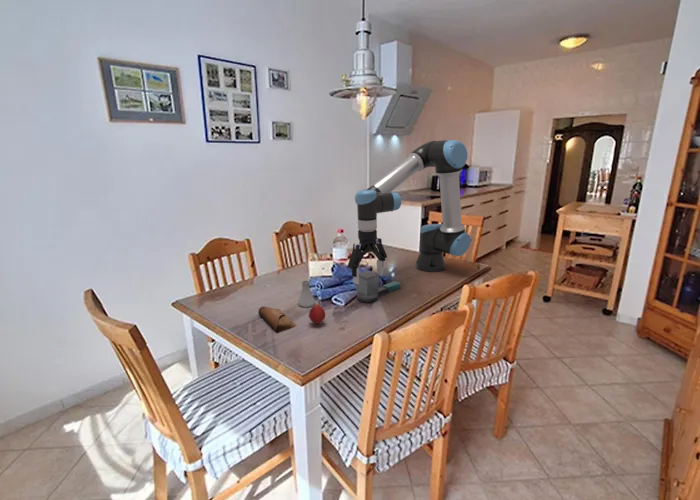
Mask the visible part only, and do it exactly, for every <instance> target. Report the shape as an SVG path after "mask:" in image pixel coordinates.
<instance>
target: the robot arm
mask: <svg viewBox="0 0 700 500" xmlns="http://www.w3.org/2000/svg"><path fill="white" fill-rule="evenodd" d="M467 161H468V149H467V147H466V146H465V144H464V143H463V142H462V141H460V140H454V139H453V140H452V139H448V140H447V139H446V140H443V139H442V140H432V141H428V142H425V143H424V144H422V145H420V146H418V147H417V148H415V149H413V151H411V152H410V153H409V154H408V155H407V158H406V159H404V160H403V161H402V162H401V163H399V164H398V165H397V166H396V167H395V166H394V168H393V169H391V170H390V171H388V173H386V174H385V175H383V176H382V177H381V178H380V179H378V180H377V181H376V182H375V183H373V184H372V185H371V186H369V187H368V188H366V189H359V190H358V191H357V192H356V194H355V195H354V200H355V204H356V206H357V209H356V210H357V228H358V230H357V238H358V240H359V243H353V244H352V251H351V254H350V258H349V260H348V264H347V268H349V269H351V276H352V283H353V284H355V285H356V284H357V285H358V284H359V273H360V269H359V268H358V267H359V266H360V264H361V262H362V260H363V258H364V257H365V255H366V254H369V253H371V252H372V253H373V254H374V256H375V257H376V258H377V259H376V274H379V276H380V277H382V276H383V274H384V273H383V272H384V270H383V269H384V262H385V261H386V259H387V258H388V255H387V252H386V251H385V248H384V245H383V241H382V238H379V237H378V230H377V228H378V226H377V225H378V221H377V220H378V219H377V215H378V214H382V213H387V212H388V213H389V212H394V211H397V210H399V209H400V208H401V206H402V197H401V195H400V194H399V193H397V192H396V191H395V192H393V191H394V190H396V189H397V188H398V187H399V186H400V185H402V184H403V183H404V182H405V181H407V180H408V179H409V178H411V177H412V176H413V175H414V174H416V173H417V172H421V171H423V170H424V169H427V168H430V167H431V168H435V169H434V170H435V174H436V175H437V176H438V177H439V188H440V189H439V190H440V201H441V202H440V203H441V207H440V208H441V219H442V220H441V221H442V223H431V224H430V223H429V224H425V225H422V226H421V228H420V236H419V237H420V238H419V242H420V243H419V254H418V257H417V260H416V263H415V267H416V269H418V270H419V271H423V272H428V273H429V272H431V273H434V272H442V271H444V270H445V269H446V261H445V258H444V253H445V254H448V255H450V256H455V257H456V256H457V257H461V256H463V255H465V254H466V253H467V251H468V250H469V248H470V246H471V243H472V239H471V238H472V237H471V235H470V234H469V233H468V232H466V227H465V225H463V223H462V213H461V212H462V209H461V191H460V189H461V187H460V186H461V185H460V173H461V172H462V171H463V167H464V166H465V165H466V163H467Z"/></svg>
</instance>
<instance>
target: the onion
mask: <svg viewBox="0 0 700 500" xmlns="http://www.w3.org/2000/svg"><path fill="white" fill-rule="evenodd" d="M310 308H311V309H310V310H309V313H308V317H309V319H310V321H311V322H312V323H314V324H316V325H319V324H320V323H322V322H323V321H324V320H325V318H326V311H325V310H324V308H323V307H321V306H320V304H319V303H316V304H315V305H313V306H311V307H310Z"/></svg>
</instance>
